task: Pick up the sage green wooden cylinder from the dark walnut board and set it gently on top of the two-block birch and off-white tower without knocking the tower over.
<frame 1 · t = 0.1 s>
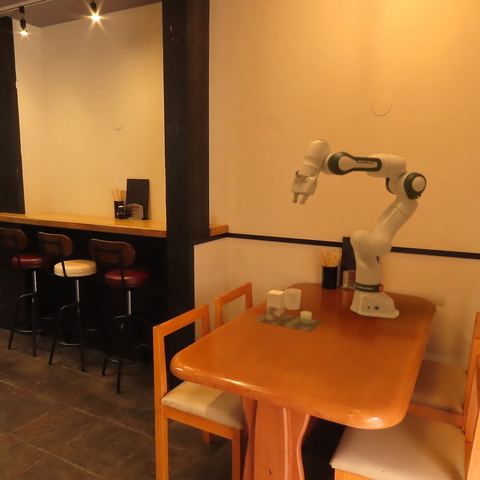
hand: (297, 203, 188), 52 cm above the table, tool tilted 20°, fingers open, 8 cm apart
white cup: (292, 311, 201), on the table
walnut board: (288, 324, 182), on the table
tower base block: (275, 318, 185), point 1 cm above the table, touching tower top block, walnut board
tower top block: (275, 305, 184), point 7 cm above the table, touching tower base block
green cylinder: (305, 324, 178), point 1 cm above the table, touching walnut board
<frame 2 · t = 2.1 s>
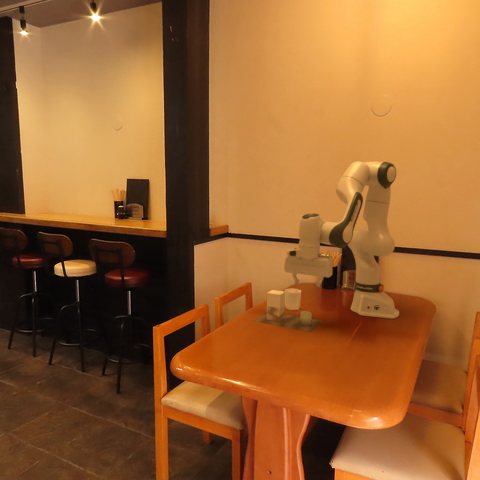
hand: (307, 284, 176), 19 cm above the table, tool pointing down, fingers open, 8 cm apart
nothing on the table moved.
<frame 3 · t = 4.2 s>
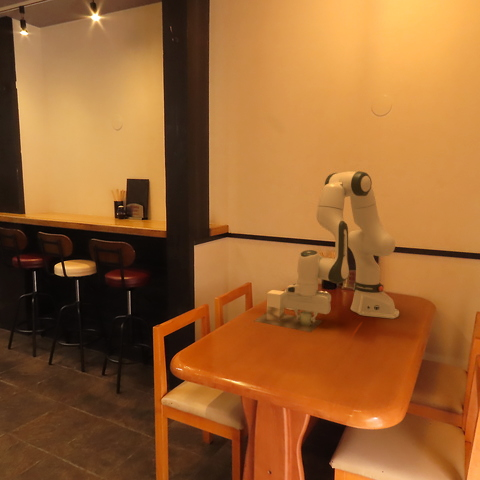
hand: (305, 320, 178), 3 cm above the table, tool pointing down, fingers closed on green cylinder, 5 cm apart
green cylinder: (305, 324, 178), point 1 cm above the table, touching gripper, walnut board
everything else where it was.
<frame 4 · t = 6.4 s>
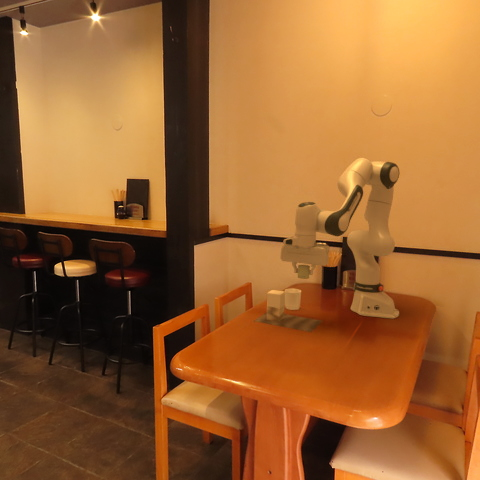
hand: (303, 273, 176), 23 cm above the table, tool pointing down, fingers closed on green cylinder, 5 cm apart
green cylinder: (303, 277, 176), point 22 cm above the table, touching gripper
everything else where it was.
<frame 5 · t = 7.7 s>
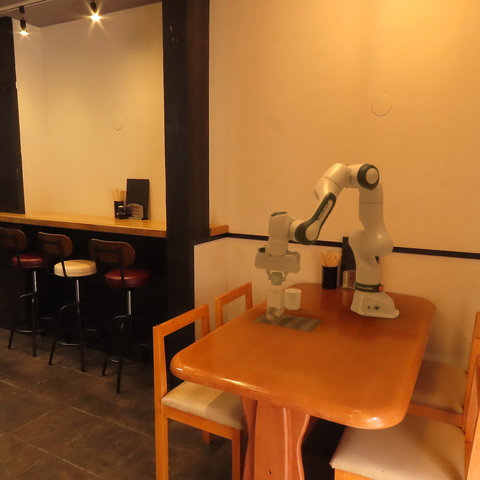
hand: (276, 280, 182), 19 cm above the table, tool pointing down, fingers closed on green cylinder, 5 cm apart
green cylinder: (276, 284, 182), point 17 cm above the table, touching gripper
everything else where it was.
when the fingers open (16 cm above the table, at t = 8.6 s): green cylinder stays where it is, resting on tower top block.
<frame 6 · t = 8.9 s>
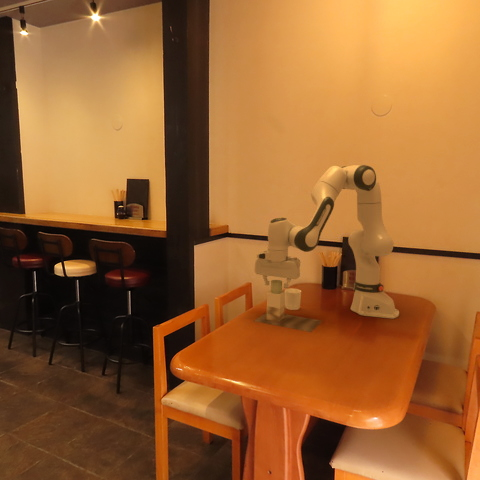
hand: (276, 286, 183), 16 cm above the table, tool pointing down, fingers open, 8 cm apart
tower top block: (275, 305, 184), point 7 cm above the table, touching green cylinder, tower base block
green cylinder: (276, 292, 183), point 13 cm above the table, touching tower top block
everything else where it was.
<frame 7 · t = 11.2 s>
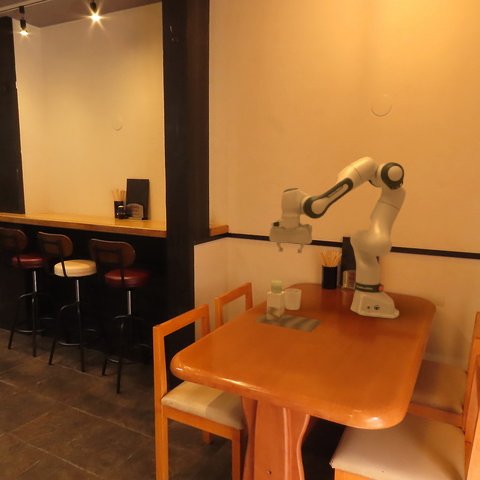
hand: (290, 252, 197), 29 cm above the table, tool pointing down, fingers open, 8 cm apart
nothing on the table moved.
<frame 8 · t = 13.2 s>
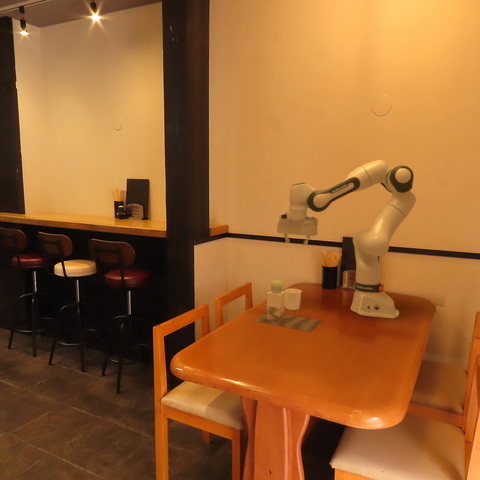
hand: (296, 243, 208), 31 cm above the table, tool pointing down, fingers open, 8 cm apart
nothing on the table moved.
at the end: green cylinder 0.0 cm off-centre on the tower top block, point 6.0 cm above the tower top block's base; tower top block 0.0 cm off-centre on the tower base block, point 6.0 cm above the tower base block's base; the gripper is holding nothing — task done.
